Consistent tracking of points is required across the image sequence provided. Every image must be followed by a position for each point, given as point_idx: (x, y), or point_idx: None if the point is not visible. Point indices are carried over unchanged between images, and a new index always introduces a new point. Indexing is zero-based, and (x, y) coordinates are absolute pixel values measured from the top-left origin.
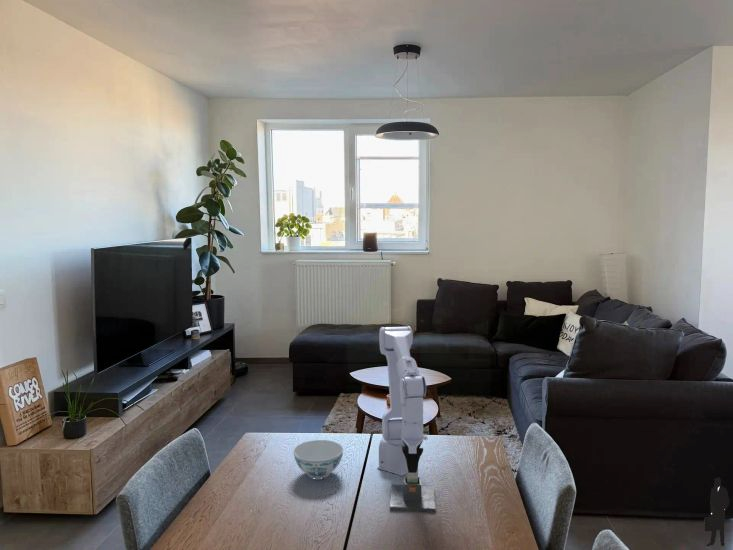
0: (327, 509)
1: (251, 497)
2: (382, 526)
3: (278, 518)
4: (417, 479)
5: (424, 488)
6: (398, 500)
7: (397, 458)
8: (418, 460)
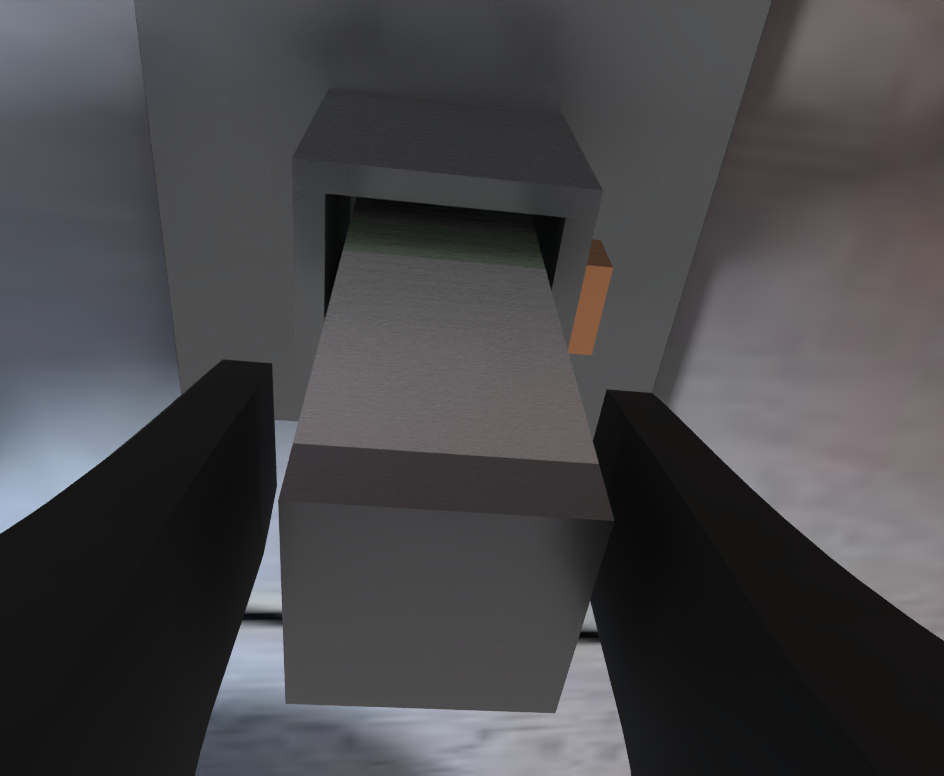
0: (550, 745)
1: None
2: (857, 478)
3: None
4: (545, 276)
5: (213, 20)
6: None
7: None
8: (880, 606)
